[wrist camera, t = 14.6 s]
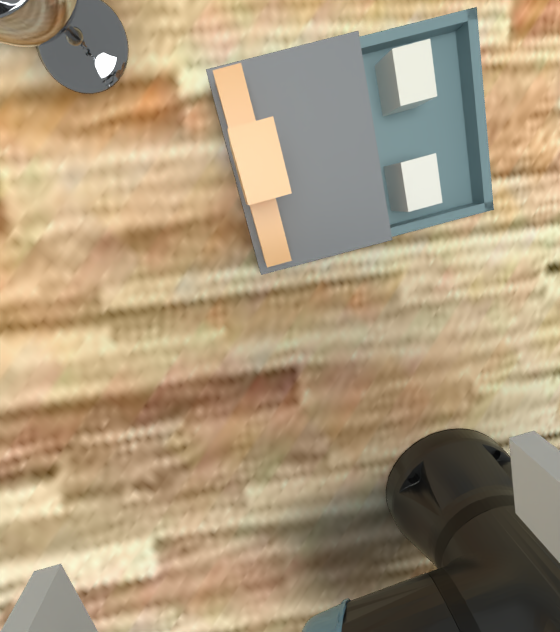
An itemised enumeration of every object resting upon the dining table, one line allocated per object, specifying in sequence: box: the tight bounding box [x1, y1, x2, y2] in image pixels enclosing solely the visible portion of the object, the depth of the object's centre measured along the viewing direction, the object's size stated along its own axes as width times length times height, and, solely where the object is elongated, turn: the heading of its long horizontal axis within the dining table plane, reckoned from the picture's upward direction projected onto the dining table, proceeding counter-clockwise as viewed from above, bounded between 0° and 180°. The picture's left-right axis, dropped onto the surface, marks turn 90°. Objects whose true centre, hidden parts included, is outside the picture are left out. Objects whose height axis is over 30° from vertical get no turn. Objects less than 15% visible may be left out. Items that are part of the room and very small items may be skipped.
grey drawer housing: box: [206, 31, 392, 275], centre depth 34 cm, size 16×12×4 cm
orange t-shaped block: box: [213, 63, 292, 267], centre depth 27 cm, size 14×2×11 cm, turn 15°
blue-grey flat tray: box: [359, 7, 494, 237], centre depth 35 cm, size 16×10×2 cm, turn 14°
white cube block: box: [384, 153, 443, 212], centre depth 35 cm, size 4×4×3 cm
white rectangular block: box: [375, 39, 437, 116], centre depth 32 cm, size 4×4×3 cm
